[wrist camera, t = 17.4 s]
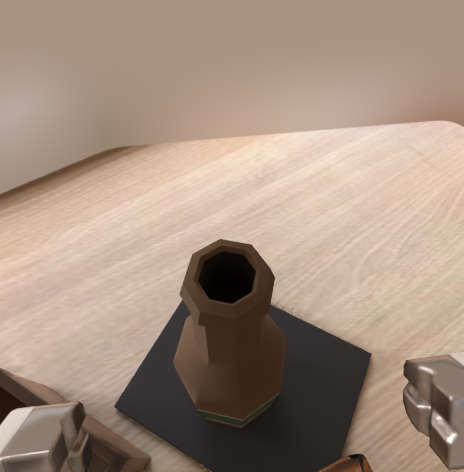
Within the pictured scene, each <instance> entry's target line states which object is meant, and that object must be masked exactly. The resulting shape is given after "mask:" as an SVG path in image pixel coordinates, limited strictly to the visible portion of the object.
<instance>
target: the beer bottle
mask: <svg viewBox="0 0 464 472" xmlns="http://www.w3.org/2000/svg"><path fill="white" fill-rule="evenodd" d="M274 280H275V277H274V275H273V273H272V271H271V269H270V267H269V266H268V265H267V264H266V262H265V261H264V260H263V259H262V257H261V256H260V255H259V254H258V252H257V251H256V250H255V248H254V247H253V246H252V245H250V244H244V243H239V242H233V241H228V240H222V239H220V240H218V241H216V242H214V243H212V244H210V245H208V246H207V247H205V248H203V249H201V250H199V251H197V252H196V253H194V254H192V257H191V260H190V263H189V266H188V269H187V272H186V275H185V279H184V282H183V285H182V288H181V291H180V296H181V297H182V299H183V301H184V302H185V304H186V306H187V307H188V309H189V311H190V312H191V315H190V316H189V317H187V318H186V321H185V324H184V327H183V331H182V334H181V337H180V341H179V344H178V347H177V351H176V354H175V358H174V361H173V362H174V365H175V368H176V370H177V372H178V374H179V376H180V378H181V380H182V382H183V384H184V385H185V387H186V389H187V391H188V393H189V395H190V397H191V399H192V401H193V403H194V404H195V406H196V408H197V410H198V411H199V412H200V413H201V414H202V415H203V416H204V417H205V419H206V420H208V421H212V422H216V423H220V424H224V425H228V426H232V427H236V428H240V429H241V428H243V427H244V426H245V425H247V424H248V423H249V422H251V421H252V420H253V419H255V418H256V417H257V416H259V415H260V414H261V413H263V412H264V411H265V410H267V409H268V408H269V407H270V406H271V405H272V403H273V402H274V400H275V399H276V398H277V396H278V395H279V393H280V391H281V386H282V378H283V371H284V363H285V355H286V347H287V339H286V338H285V336H284V335H283V334H282V332H281V331H280V329H279V328H278V327H277V325H276V324H275V323H274V321H273V320H272V318H271V317H270V316H269V314H268V313H269V310H270V304H271V298H272V292H273V286H274Z"/></svg>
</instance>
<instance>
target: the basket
mask: <svg viewBox="0 0 464 472" xmlns="http://www.w3.org/2000/svg"><path fill="white" fill-rule="evenodd" d="M61 403H70V402H69V401H68V400H66V399H65V398H63V397H62V396H60V395H59V394H57V393H56V392H54V391H53V390H51V389H50V388H48V387H47V386H45V385H42V384H39V383H36V382H34V381H31V380H28V379H25V378H22V377H19V376H17V375H14V374H11V373H10V372H9V371H7V370H4V369H1V368H0V425H1V423H2V422H3V421H4V420H5V418H6V417H7V416H8V415H9V413H10V412H11V411H13V410H15V409H17V408H25V407H33V406H36V407H37V406H42V405H51V404H61ZM85 414H86V417H85V419H84V421H83V424H82V426H83V427H84V428H85V429H87V430H88V431H89V433H90V438H91V452H93V453H94V454H95V455H97V456H98V457H100V458H101V459H102V460H104V461H105V462H107V463H108V464H109V466H108V467H107V469H106V471H105V472H143V471H144V469H145V467H146V465H147V463H148V461H149V460H150V458H151V457H150V456H148V455H147V454H145V453H144V452H142V451H141V450H140V449H138V448H137V447H135V446H134V445H132V444H131V443H129V442H128V441H126V440H125V439H123V438H122V437H120V436H119V435H117V434H116V433H115V432H113V431H112V430H110V429H109V428H107V427H106V426H104V425H103V424H101V423H100V422H98V421H97V420H95V419H94V418H92V417H91V416H90V415H88V414H87V413H85Z"/></svg>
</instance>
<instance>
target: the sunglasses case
mask: <svg viewBox="0 0 464 472" xmlns="http://www.w3.org/2000/svg"><path fill="white" fill-rule="evenodd" d="M316 472H373V471H372V470H371V468H370V465H369V463H368V461H367V459H366V457H365V456H364V455H363V454H353V455H349V456H345V457H343V458H340V459H338V460H336V461H334V462H333V463H331V464H329V465H327V466H325V467H323V468H321V469H319V470H318V471H316Z"/></svg>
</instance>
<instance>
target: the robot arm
mask: <svg viewBox="0 0 464 472" xmlns="http://www.w3.org/2000/svg"><path fill="white" fill-rule="evenodd" d="M403 375H404V376H405V377H406V378H407V380H408V381H409V383H408V384H407V385H406V387H405V388H404V390H403V403H404V406H405V410H406V413H407V415H408V417H409V419H410V421H411V423H412V424H413V425H414V427H415V428H416V429H417V431H419V432H421V433H423V434H425V435H426V436H428V437H430V445H429V446H430V447H431V448H432V450H433V451H434V452H435V453H436V455H437V456H438V457H439V458H440V460H441V461H442V462H443V463H444V465H445V466H446V467H447V468H448V470H458V469H464V351H461V352H455V353H449V354H444V355H439V356H432V357H425V358H418V359H411V360H406V362H405V364H404V374H403ZM85 417H86V414H85V411H84V407H83V404H82V403H80V402H70V403H61V404H51V405H42V406H37V407H36V406H33V407H25V408H17V409H15V410H13V411H11V412H10V413H9V415H8V416H7V417H6V418H5V420H4V421H3V422H2V423H1V425H0V472H87V471H88V468H89V464H90V458H91V438H90V433H89V431H88V430H87V429H85V428H84V427H83V426H82V424H83V421H84V419H85Z"/></svg>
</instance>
